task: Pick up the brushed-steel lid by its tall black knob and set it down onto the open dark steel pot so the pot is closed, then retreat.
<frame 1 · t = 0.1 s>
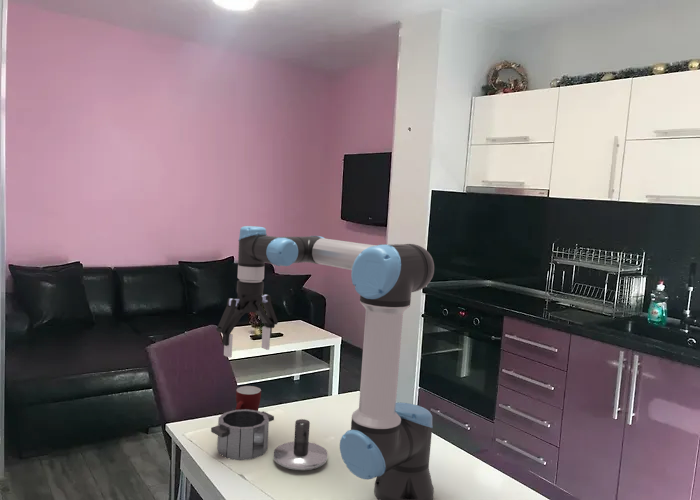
hand: (247, 352, 166), 28 cm above the table, fingers open, 13 cm apart
lid: (300, 462, 161), on the table
pot: (242, 448, 166), on the table
mug: (245, 421, 186), on the table
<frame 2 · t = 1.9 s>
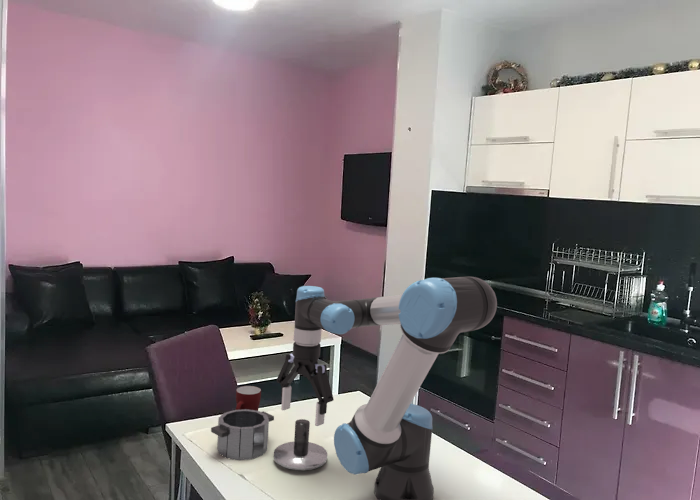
hand: (302, 416, 160), 13 cm above the table, fingers open, 13 cm apart
nothing on the table moved.
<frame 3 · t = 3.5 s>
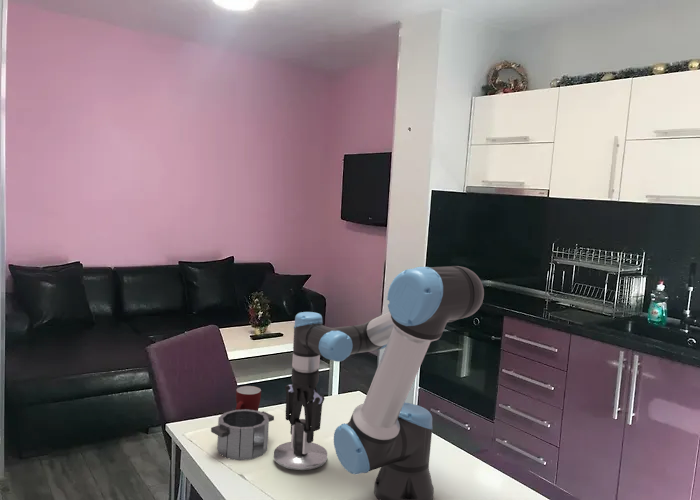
hand: (300, 449, 160), 4 cm above the table, fingers closed on lid, 4 cm apart
lid: (300, 462, 161), on the table, touching gripper
everything else where it was.
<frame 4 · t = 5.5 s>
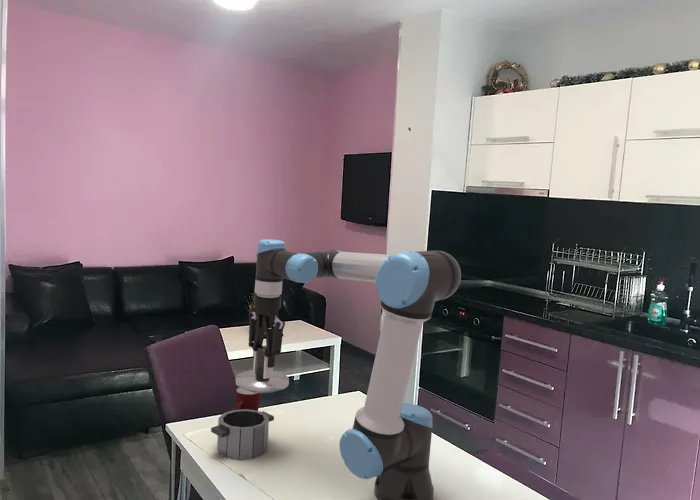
hand: (262, 375, 163), 23 cm above the table, fingers closed on lid, 4 cm apart
lid: (262, 387, 163), point 19 cm above the table, touching gripper
everything else where it was.
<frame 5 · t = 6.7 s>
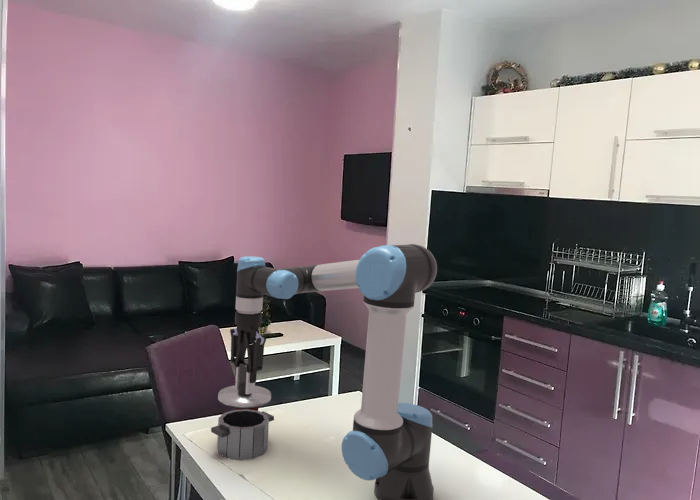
hand: (244, 390, 165), 17 cm above the table, fingers closed on lid, 4 cm apart
lid: (244, 402, 165), point 14 cm above the table, touching gripper
everything else where it was.
when the fingers open (13 cm above the table, at t = 7.6 s): lid drops 2 cm, resting on pot.
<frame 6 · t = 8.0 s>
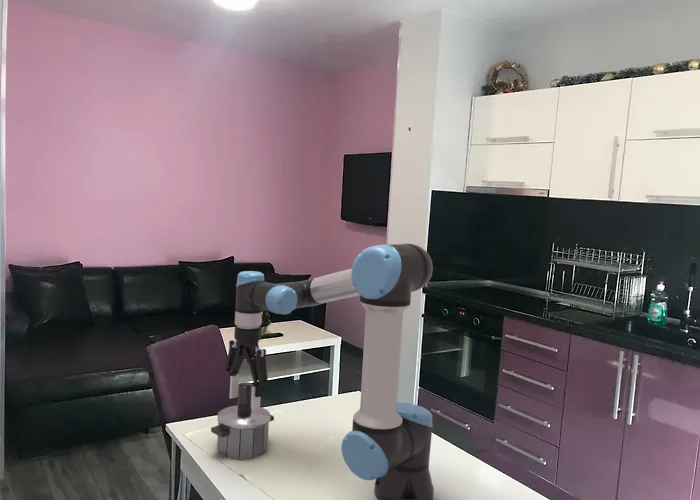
hand: (244, 402, 165), 14 cm above the table, fingers open, 9 cm apart
lid: (243, 423, 166), point 7 cm above the table, touching pot
everything else where it was.
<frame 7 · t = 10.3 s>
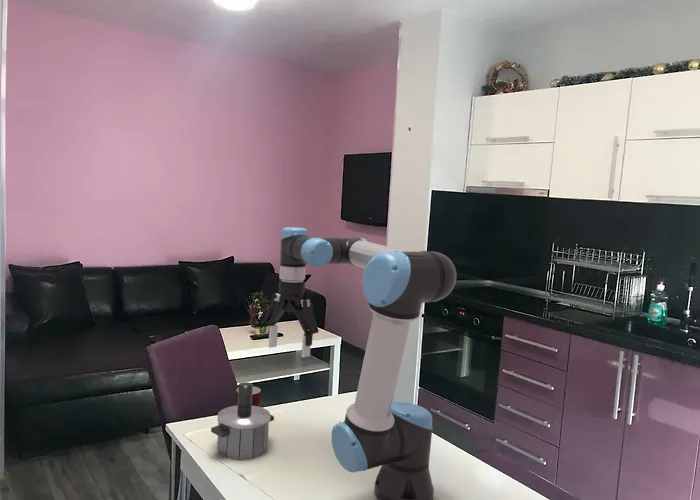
hand: (288, 351, 169), 28 cm above the table, fingers open, 13 cm apart
nothing on the table moved.
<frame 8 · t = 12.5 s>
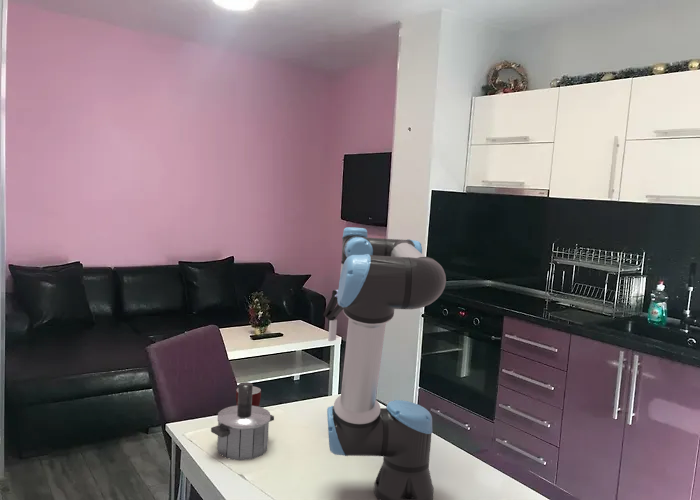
hand: (347, 345, 178), 29 cm above the table, fingers open, 13 cm apart
nothing on the table moved.
at the end: lid 0.1 cm off-centre on the pot, point 7.5 cm above the pot's base; lid tilted 0°; the gripper is holding nothing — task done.
